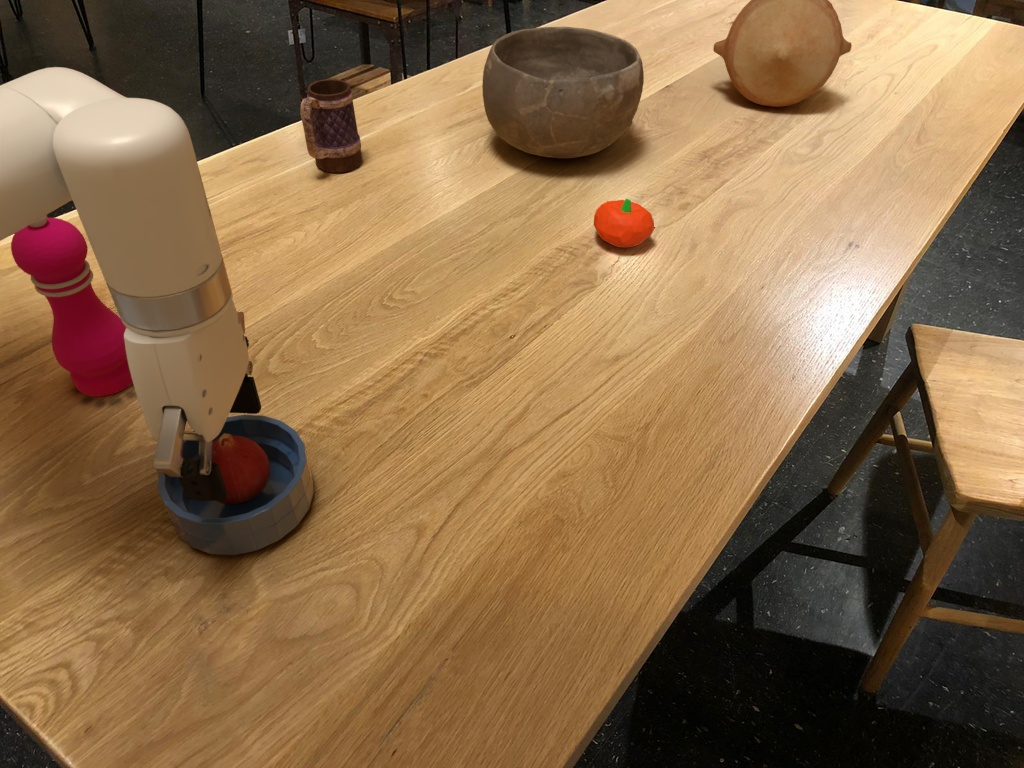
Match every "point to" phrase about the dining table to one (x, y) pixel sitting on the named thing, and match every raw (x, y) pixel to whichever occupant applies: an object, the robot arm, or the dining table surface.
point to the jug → (782, 49)
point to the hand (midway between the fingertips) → (226, 451)
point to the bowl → (561, 90)
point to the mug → (331, 126)
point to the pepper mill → (74, 306)
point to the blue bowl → (258, 517)
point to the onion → (240, 467)
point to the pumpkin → (623, 223)
